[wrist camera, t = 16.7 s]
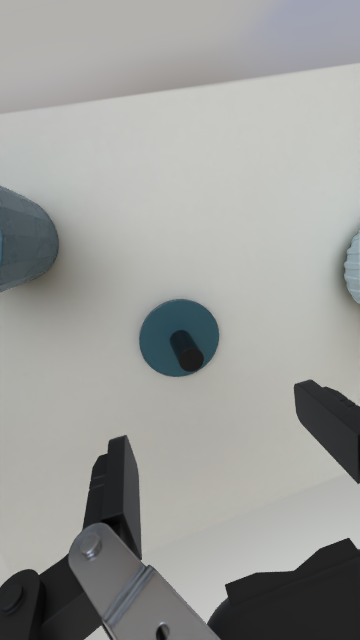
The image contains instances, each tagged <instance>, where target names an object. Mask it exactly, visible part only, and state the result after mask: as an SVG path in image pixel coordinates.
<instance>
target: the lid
mask: <svg viewBox="0 0 360 640" xmlns="http://www.w3.org/2000/svg"><path fill="white" fill-rule="evenodd" d="M139 341H140V349H141V352H142V355H143V357H144V359H145V361H146V362H147V363H148V364H149V365H150V367H152V368H153V369H154V370H156V371H157V372H159V373H161V374H164V375H167V376H173V377H179V376H186V375H190V374H193V373H195V372H197V371H198V370H200V369H202V368H203V367H204V366H205V365H206V364H207V363H208V362H209V361H210V360H211V359H212V357H213V355H214V354H215V352H216V349H217V346H218V341H219V330H218V326H217V323H216V321H215V319H214V317H213V316H212V314H211V313H210V312H209V311H208V310H207V309H206V308H205V307H203V306H202V305H200V304H198V303H196V302H194V301H190V300H183V299H180V300H172V301H168V302H165V303H163V304H161V305H160V306H158V307H156V308H155V309H154V310H153V311H152V312H151V313H150V314H149V315H148V316H147V318H146V319H145V321H144V323H143V325H142V327H141V331H140V337H139Z"/></svg>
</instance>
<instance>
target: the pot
mask: <svg viewBox="0 0 360 640" xmlns="http://www.w3.org/2000/svg"><path fill="white" fill-rule="evenodd" d="M57 252H58V236H57V232H56V229H55V226H54V224H53V222H52V220H51V219H50V217H49V216H48V215H47V214H46V212H45V211H44V210H43V209H42V208H41V207H40V206H38V205H37V204H35V203H34V202H32V201H31V200H29V199H27V198H26V197H24V196H22V195H20V194H18V193H15V192H13V191H11V190H9V189H7V188H4V187H2V186H0V292H2V291H5V290H7V289H10V288H12V287H15V286H17V285H20V284H23V283H25V282H28V281H30V280H33V279H35V278H37V277H39V276H40V275H42V274H43V273H45V272H46V271H47V270H48V269H49V268H50V267H51V266H52V264H53V263H54V261H55V259H56V256H57Z"/></svg>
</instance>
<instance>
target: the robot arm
mask: <svg viewBox="0 0 360 640" xmlns="http://www.w3.org/2000/svg"><path fill="white" fill-rule="evenodd" d="M294 395H295V406H296V413H297V416H298V418H299V420H300V422H301V423H302V425H303V426H304V427H305V428H306V429H307V430H308V431H309V432H310V433H311V434H312V435H313V436H314V438H315V439H316V440H317V441H318V442H319V443H320V444H321V445H322V446H323V447H324V448H325V449H326V450H327V451H328V452H329V453H330V455H331V456H332V457H333V458H334V459H335V460H336V461H337V462H338V463H339V464H340V465H341V466H342V467H343V468H344V469H345V470H346V472H347V473H348V474H349V475H350V476H351V477H352V478H353V479H354V480H355V481H356V482H357V483H358V484H359V483H360V407H359V406H358V405H355V403H354V402H352V401H351V400H348V398H347V397H345V396H344V395H342V394H341V393H340V392H338V391H336V390H333V389H331V388H328V387H323V388H322V387H321V386H320V385H318V384H317V383H316V382H314V381H313V380H307V381H303V382H300V383H297V384H295V385H294ZM89 489H90V491H89V493H88V499H87V505H86V511H85V517H84V523H83V529H82V532H80V534H79V535H78V536H77V537H76V538H75V540H74V542H73V543H72V545H71V548H70V550H69V553H68V554H67V555H66V556H65V557H64V558H63V559H61V560H60V561H59V562H57V563H56V564H54V565H53V566H51V567H50V568H49V569H47V570H46V571H44V572H43V573H41V574H40V575H38V573H37V572H36V571H34V570H32V569H26V570H22V571H20V572H18V573H16V574H14V575H13V576H12V577H10V578H9V579H8V580H7V581H6V582H5V583H4V584H3V585H2V586H1V587H0V640H84V639H85V638H86V637H88V636H89V635H90V634H91V633H92V632H94V631H95V630H96V629H97V628H98V627H99V626H102V627H103V629H104V631H105V633H106V634H107V636H108V637H109V639H110V640H360V549H357V548H356V547H355V545H354V544H353V543H352V541H351V540H350V539H349V538H347V539H344V540H342V541H339V542H336V543H334V544H331V545H328V546H326V547H323V548H320V549H319V550H318V551H316V552H315V553H314V554H313V555H312V556H311V557H310V558H309V559H307V560H306V561H305V562H304V563H303V564H302V565H300V566H299V567H298V568H297V569H296V570H294V571H288V572H261V573H254V574H252V575H249V576H246V577H244V578H241V579H239V580H236V581H233V582H231V583H228V584H226V585H225V587H226V591H227V595H228V598H227V599H226V600H225V601H223V602H222V603H221V604H220V605H219V607H218V608H217V609H216V610H215V612H214V613H213V614H212V616H211V617H210V619H209V621H208V623H207V624H206V623H205V622H204V621H203V620H202V619H201V618H200V617H199V615H198V614H197V613H196V612H195V611H194V610H193V609H192V608H191V607H190V606H189V605H188V604H187V603H186V601H184V599H183V598H182V597H181V596H180V595H179V594H178V593H177V592H176V591H175V590H174V589H173V588H172V586H171V585H170V584H169V583H168V582H167V581H166V580H165V579H164V578H163V577H162V576H161V575H160V574H159V573H158V571H157V570H156V569H155V568H153V567H152V566H151V565H148V566H145V565H144V564H143V563H142V562H141V561H140V560H142V552H141V525H140V498H139V474H138V468H137V463H136V460H135V457H134V454H133V451H132V448H131V445H130V443H129V440H128V437H127V435H124V436H121V437H117V438H114V439H111V440H109V444H108V454H104V455H101V456H99V457H98V459H97V461H96V463H95V464H94V466H93V469H92V475H91V481H90V487H89Z"/></svg>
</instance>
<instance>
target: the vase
mask: <svg viewBox="0 0 360 640" xmlns="http://www.w3.org/2000/svg"><path fill="white" fill-rule="evenodd" d="M351 243H352V245H351V247H350V248H349V249H348V250H347V253H346V254H347V260H346V262H344V267H345V268H346V272H345V274H344V278H345V280H346V281H347V288H348V291H349V292H350V293H351V295H352V297H353V299H354V300H355V301H356V302H357V303H358V304H360V229H359V232H358V234H357V235H355V236H354V238H353V239H352V241H351Z"/></svg>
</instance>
